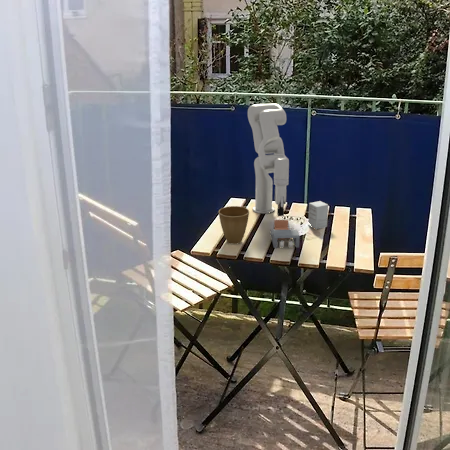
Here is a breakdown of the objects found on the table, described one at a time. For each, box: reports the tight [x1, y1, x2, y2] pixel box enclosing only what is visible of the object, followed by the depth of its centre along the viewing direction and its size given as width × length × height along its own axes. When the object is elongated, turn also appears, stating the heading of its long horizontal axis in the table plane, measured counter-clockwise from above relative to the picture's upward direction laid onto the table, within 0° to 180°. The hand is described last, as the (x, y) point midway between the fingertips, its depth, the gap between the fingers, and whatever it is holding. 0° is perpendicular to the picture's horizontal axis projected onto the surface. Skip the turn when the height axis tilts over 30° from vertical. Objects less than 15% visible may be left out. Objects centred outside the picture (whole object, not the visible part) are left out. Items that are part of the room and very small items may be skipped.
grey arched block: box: [273, 219, 292, 241], centre depth 285 cm, size 12×7×6 cm, turn 2°
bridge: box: [269, 228, 300, 249], centre depth 278 cm, size 18×12×6 cm
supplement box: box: [307, 200, 329, 230], centre depth 295 cm, size 7×7×13 cm
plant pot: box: [218, 205, 250, 245], centre depth 276 cm, size 15×15×16 cm
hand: (280, 215), depth 294 cm, fingers closed
